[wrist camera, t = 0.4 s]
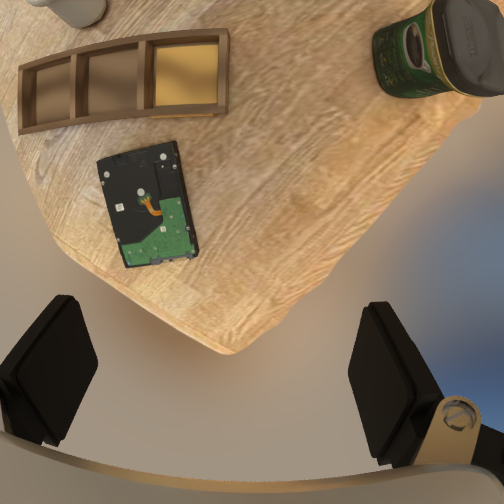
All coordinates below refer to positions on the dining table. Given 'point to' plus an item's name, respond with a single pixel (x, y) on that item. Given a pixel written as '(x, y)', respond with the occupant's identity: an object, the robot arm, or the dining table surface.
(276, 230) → the dining table surface
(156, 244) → the disk drive
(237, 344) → the dining table surface
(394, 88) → the coffee jar
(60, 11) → the salt shaker
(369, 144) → the dining table surface
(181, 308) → the dining table surface
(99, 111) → the wooden compartment tray
